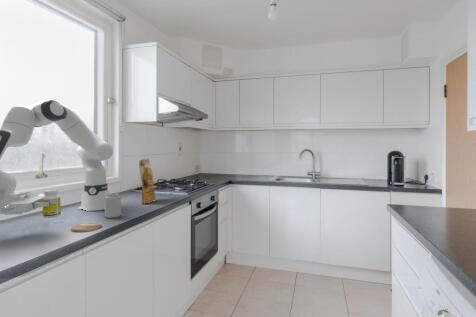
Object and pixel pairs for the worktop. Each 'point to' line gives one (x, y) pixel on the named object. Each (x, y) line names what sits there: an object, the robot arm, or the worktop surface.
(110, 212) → the can
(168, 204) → the worktop surface
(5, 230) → the worktop surface
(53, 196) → the pill bottle
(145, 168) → the pancake mix bag
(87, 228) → the coaster
